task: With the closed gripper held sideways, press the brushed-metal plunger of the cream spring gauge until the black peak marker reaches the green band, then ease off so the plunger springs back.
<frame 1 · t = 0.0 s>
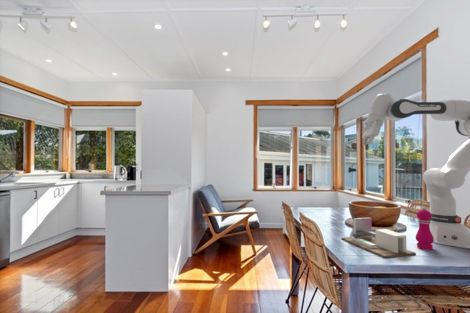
hand: (366, 144, 152), 52 cm above the table, tool tilted 20°, fingers open, 8 cm apart
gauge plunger: (371, 231, 136), point 6 cm above the table, slide at 0.0 cm
gauge scale: (363, 242, 134), on the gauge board, point 1 cm above the table
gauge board: (380, 246, 132), on the table
pepper mill: (424, 248, 131), on the table
peak marker: (357, 235, 138), point 4 cm above the table, slide at 0.0 cm
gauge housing: (390, 240, 127), on the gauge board, point 5 cm above the table
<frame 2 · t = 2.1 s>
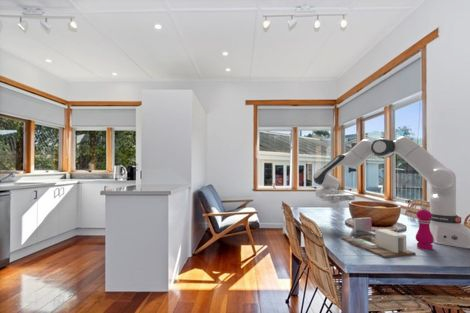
hand: (345, 198, 159), 20 cm above the table, tool horizontal, fingers open, 6 cm apart
nothing on the table moved.
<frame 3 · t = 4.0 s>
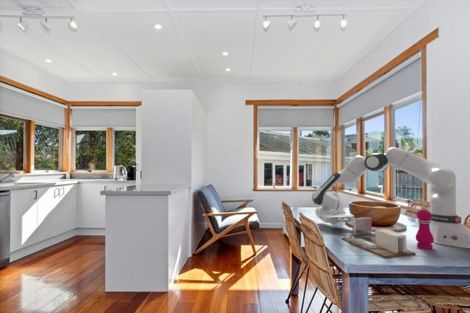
hand: (345, 221, 159), 7 cm above the table, tool horizontal, fingers closed
nothing on the table moved.
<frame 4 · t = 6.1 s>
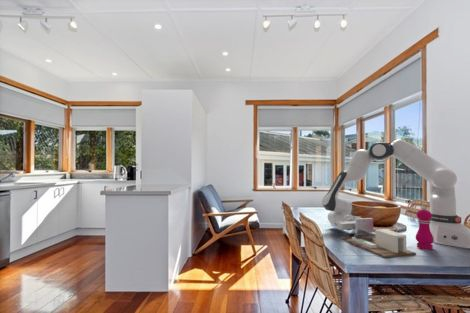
hand: (363, 227, 145), 6 cm above the table, tool horizontal, fingers closed, pressing on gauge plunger
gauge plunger: (373, 232, 135), point 6 cm above the table, slide at 1.3 cm, touching gripper, peak marker
peak marker: (358, 236, 137), point 4 cm above the table, slide at 1.0 cm, touching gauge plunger
everything else where it was.
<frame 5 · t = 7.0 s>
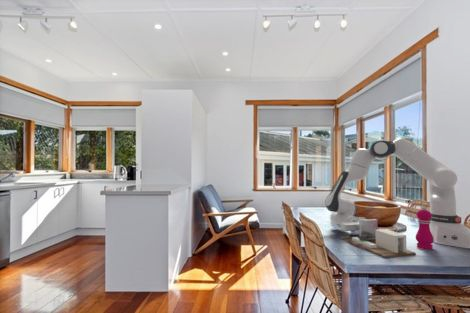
hand: (367, 229, 142), 6 cm above the table, tool horizontal, fingers closed, pressing on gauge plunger
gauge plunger: (378, 234, 131), point 7 cm above the table, slide at 4.5 cm, touching gripper, peak marker
peak marker: (362, 237, 134), point 4 cm above the table, slide at 4.2 cm, touching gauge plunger
everything else where it was.
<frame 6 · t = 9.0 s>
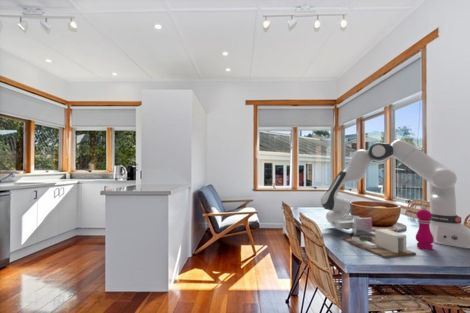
hand: (361, 226, 146), 7 cm above the table, tool horizontal, fingers closed
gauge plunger: (372, 231, 135), point 6 cm above the table, slide at 0.4 cm
peak marker: (362, 237, 134), point 4 cm above the table, slide at 4.2 cm
everything else where it was.
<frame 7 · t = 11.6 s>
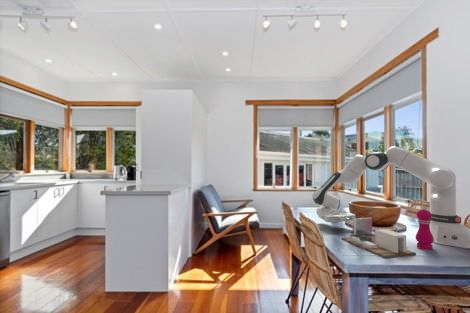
hand: (347, 220, 159), 8 cm above the table, tool horizontal, fingers closed
nothing on the table moved.
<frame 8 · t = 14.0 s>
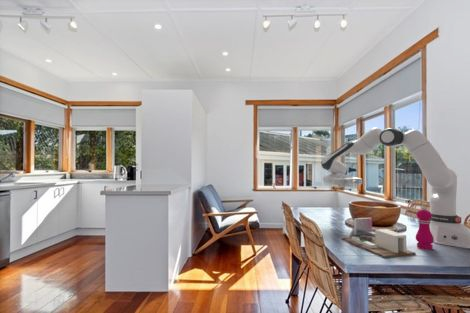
hand: (354, 182, 163), 30 cm above the table, tool horizontal, fingers closed
nothing on the table moved.
at the end: peak marker slide at 4.2 cm; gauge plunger slide at 0.4 cm; pepper mill moved 0.2 cm from its start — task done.
